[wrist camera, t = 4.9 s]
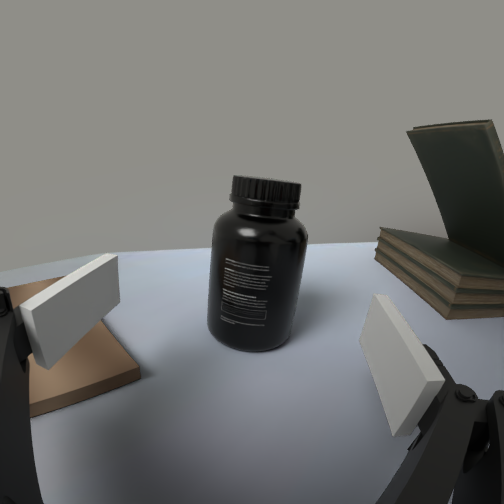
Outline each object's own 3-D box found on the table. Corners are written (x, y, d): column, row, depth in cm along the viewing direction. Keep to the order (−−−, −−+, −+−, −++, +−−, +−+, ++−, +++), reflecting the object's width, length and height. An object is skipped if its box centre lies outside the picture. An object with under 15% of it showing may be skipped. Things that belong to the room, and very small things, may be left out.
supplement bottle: (306, 335, 23) (335, 188, 19) (245, 366, 18) (270, 182, 15) (250, 303, 28) (266, 176, 24) (189, 321, 23) (199, 171, 19)
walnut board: (69, 284, 25) (68, 275, 25) (141, 378, 16) (139, 366, 15) (-59, 312, 13) (-61, 302, 13) (-69, 440, 4) (-78, 428, 3)
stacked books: (520, 318, 28) (554, 160, 21) (444, 323, 27) (485, 108, 20) (447, 268, 50) (469, 152, 43) (372, 259, 49) (394, 123, 42)
